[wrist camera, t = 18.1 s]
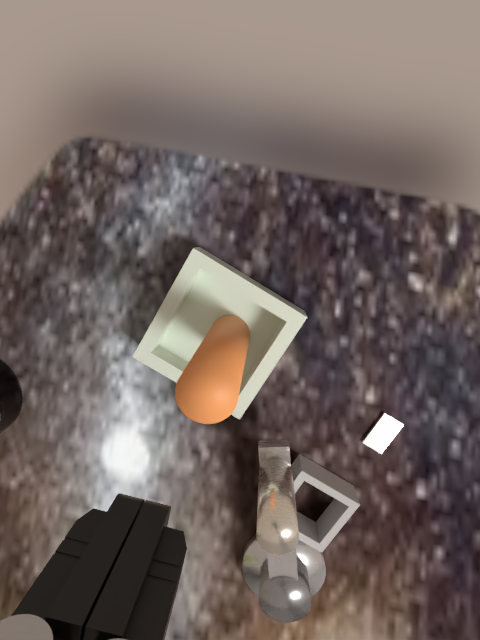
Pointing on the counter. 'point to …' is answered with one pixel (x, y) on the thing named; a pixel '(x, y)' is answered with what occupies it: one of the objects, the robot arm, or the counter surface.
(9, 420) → the supplement bottle
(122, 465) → the counter surface
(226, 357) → the pin
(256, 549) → the crank flange
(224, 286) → the tray
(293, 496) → the crank
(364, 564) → the counter surface
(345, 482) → the collar
